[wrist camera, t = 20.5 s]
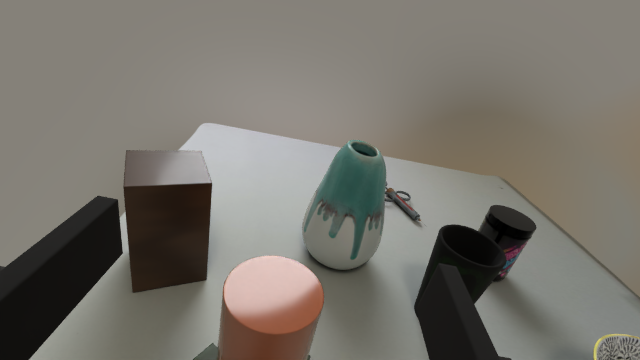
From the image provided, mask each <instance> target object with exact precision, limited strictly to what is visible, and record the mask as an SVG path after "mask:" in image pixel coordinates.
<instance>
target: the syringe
mask: <svg viewBox="0 0 640 360" xmlns="http://www.w3.org/2000/svg"><path fill="white" fill-rule="evenodd" d="M386 186H387V182H386ZM386 186H385V188H386ZM386 189H387V188H386ZM397 193H402V194H405V195H407V196H408V197H409V198H408V199H406V198H402V197H400V196H399V195H397ZM385 194H387V195H388V196H390V197H391V198H392V199H391V200H388V199H385V201H387V202H392V201H393V200H395V201H396V202H397V203H398V204H399V205H400V206H401V207H402V208H403V209H404V210H405V211H406V212H407V213H408V214H409V215H410V216H411V217H412V218H413V219H414V220H418V221H421V220H420V218H419V217H420V215H419V214H418V213H417V212H416V211H415V210H414V209H413V208H411V207H410V206H409V205H408V204H407V203H406V202H405V201H408V200H410V198H411V197H410V195H409V194H408V193H406V192H403V191H397V192H395V191H394V190H393V189H392V188H389V189H387V191H386V192H385ZM423 224H424V223H423ZM424 225H425V224H424ZM425 226H426V225H425Z"/></svg>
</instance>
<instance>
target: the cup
mask: <svg viewBox="0 0 640 360" xmlns="http://www.w3.org/2000/svg"><path fill="white" fill-rule="evenodd" d="M506 262H507V259H506V255H505V253H504V251H503V250H502V249H501V247H500V246H499V245H498V244H497V243H496V242H495V241H493V240H492V239H491V238H489V237H488V236H486V235H484V234H483V233H481V232H479V231H477V230H474V229H472V228H469V227H466V226H461V225H446V226H444V227H442V228H441V229H440V230H439V233H438V236H437V239H436V242H435V245H434V248H433V251H432V254H431V257H430V260H429V263H428V266H427V269H426V272H425V275H424V278H423V281H422V284H421V287H420V290H419V293H418V296H417V299H416V302H415V305H414V309H415V313H416V315H417V317H418V314H417V311H416V307H417V305H418V303H419V301H420V299H421V297H422V295H423V293H424V291H425V289H426V287H427V285H428V283H429V281H430V279H431V277H432V275H433V273H434V271H435V269H436V267H437V265H438V263H441V264H446V265H451V266H456V267H457V269H458V271H459V273H460V275H461V278H462V280H463V282H464V284H465V286H466V288H467V290H468V292H469V295H470V297H471V299H472V301H473V303H474V304H475V303H476V301H477V300H478V299H479V298H480V296H481V295H482V294H483V292H484V291H485V290H486V289H487V287H488V286H489V285H490V284H491V282H492V281H493V280H494V279H495V277H496V276H497V275H498V274H499V272H500V271H501V270H502V269H503V267H504V266H505V265H506Z"/></svg>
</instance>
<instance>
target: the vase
mask: <svg viewBox="0 0 640 360" xmlns="http://www.w3.org/2000/svg"><path fill="white" fill-rule="evenodd" d="M385 186H386V166H385V162H384V159H383V157H382V155H381V153H380V151H379V150H378V149H377V148H376V147H374V146H373V145H371V144H368V143H366V142H364V141H360V140H350V141H349V142H348V143H346V144H345V145H344V146H343V147H342V148H341V149H340V150H339V151H338V153H337V154H336V156H335V157H334V159H333V161H332V162H331V164H330V166H329V168H328V170H327V172H326V174H325V176H324V178H323V180H322V182H321V183H320V185H319V187H318V188H317V190H316V191H315V193H314V195H313V197H312V199H311V201H310V203H309V205H308V208H307V210H306V213H305V216H304V219H303V225H302V235H303V240H304V243H305V246H306V248H307V250H308V251H309V253H310V254H311V255H312V256H313V257H314V258H315V259H316V260H317V261H318V262H320V263H321V264H323V265H325V266H327V267H330V268H334V269H339V270H347V269H353V268H356V267H358V266H361V265H362V264H364V263H365V262H367V261H368V260H369V259H370V258H371V257H372V256H373V255H374V253H375V252H376V250H377V248H378V246H379V243H380V240H381V236H382V231H383V224H384V205H385Z"/></svg>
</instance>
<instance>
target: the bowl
mask: <svg viewBox="0 0 640 360" xmlns="http://www.w3.org/2000/svg"><path fill="white" fill-rule="evenodd" d="M593 356H594V360H640V338H639V337H635V336H630V335H624V334H609V335H606V336H603V337H602V338H600V339H599V340H598V341H597V343H596V344H595V347H594V353H593Z"/></svg>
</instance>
